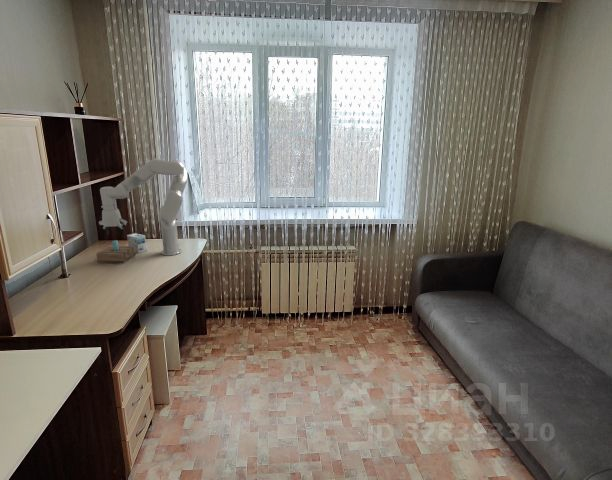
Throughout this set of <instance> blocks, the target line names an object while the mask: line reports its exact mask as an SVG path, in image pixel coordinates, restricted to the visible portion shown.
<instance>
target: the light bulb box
mask: <svg viewBox="0 0 612 480" xmlns="http://www.w3.org/2000/svg"><path fill="white" fill-rule="evenodd" d="M126 237H127V246H135V252H136V254H140V253H144V252H147V251H148V247H147V240H146V239H147V238H146V235H145V234H140V233H136V232H134V233H131V234H127V235H126Z"/></svg>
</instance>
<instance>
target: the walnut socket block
mask: <svg viewBox="0 0 612 480" xmlns="http://www.w3.org/2000/svg"><path fill="white" fill-rule="evenodd" d="M95 254H96V262H97V264H125V263H127V262H128V261H129V260H131V259H132V258H134V257H135V256H136V255H137V253H136V252H135V246H128V245H119V250H118V251H113V245H109V246H108V247H105V248H104V249H102V250H100V251H98V252H96V253H95Z"/></svg>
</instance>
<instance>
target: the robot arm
mask: <svg viewBox="0 0 612 480" xmlns="http://www.w3.org/2000/svg"><path fill="white" fill-rule="evenodd" d="M156 175H163V176H164V175H165V176H173V178H172V181H171V183H170V185H169V189H168V191H167V192H166V194H165V195H166V196H165V198H166V199H165V201H164V204H163V205H162V206H161V207H160V208H159V211H158V213H159V221H160V222H159V223H160V231H161V232H160V233H161V239H162V249H163V250H161V251H160V254H161V255H163V256H175V255H179V254H181V253H182V249H181V248H180V247H179V246H180V243H179V239H178V235H179V234H178V226H177V217H178V215H179V212H180V209H181V207H182V204H183V202H184V197H183V193H184V191H185V188H186V186H187V183H188V172H187V169H186V167H185V166H184V164H183V163H182V162H181V161H180V160H177V159H174V160H163V159H160V158H156V157H155V158H152V159H150V160H149V161H148V162H146V163H145V164H144V165H143V166H141V167H140V168H139V169H137V170H136V171H134V172H133V173H132V174H131V175H129V176H127V178H125V179H124V180H122V181H121V182H120V183H118V184H117V185H116V186H103V187H100V189H99V193H100V197H101V198H100V199H101V204H102V205H101V206H100V207H101V209H103V210H102V211H101V219H102V220H99V221H98V225H99V226H100V227H101V228H102V229H103V231H104V234H105V236H109V235H110V228H111V227H115V228H116V227H118V228H119V232H120V236H124V235H125V227H126V226H127V223H128V221H127V220H125V219H123V218H122V216H121V212H120V210H119V208H118V205H117V200H118V199H119V200H123V199H126V198H127V197H128V195H129V193H130V192H132V191H133V190H135V189H136V188H137V187H139V186H143V185H145V184H146V183H148V182H149V181H150V180H151V179H152V178H154V177H155V176H156ZM109 227H110V228H109Z"/></svg>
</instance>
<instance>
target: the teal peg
mask: <svg viewBox="0 0 612 480" xmlns="http://www.w3.org/2000/svg"><path fill="white" fill-rule="evenodd" d="M111 243H112V246H113V251H118V250H119V246H120V245H119V241H118V240H116V239H115V240H112V241H111Z"/></svg>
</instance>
